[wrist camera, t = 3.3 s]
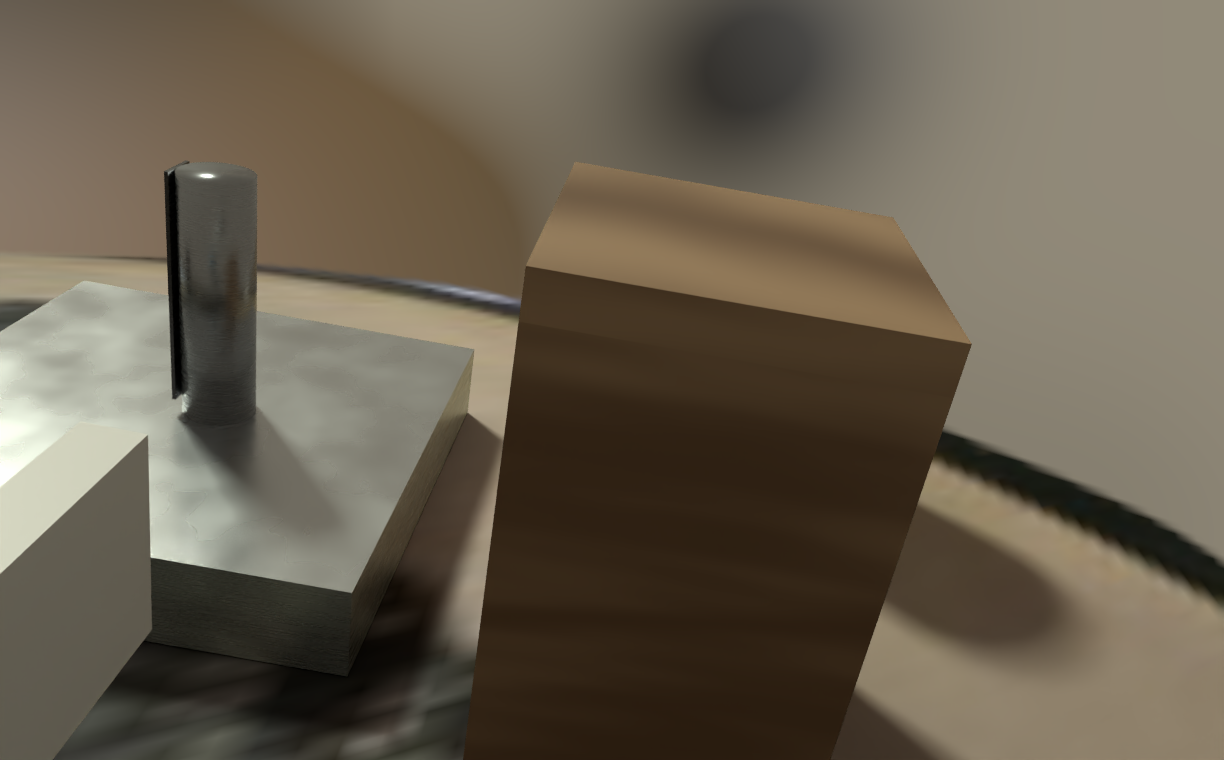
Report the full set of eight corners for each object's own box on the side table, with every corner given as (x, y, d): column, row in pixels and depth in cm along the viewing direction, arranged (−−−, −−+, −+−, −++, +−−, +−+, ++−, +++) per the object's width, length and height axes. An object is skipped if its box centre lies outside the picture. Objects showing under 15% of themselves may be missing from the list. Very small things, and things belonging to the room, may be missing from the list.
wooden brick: (798, 849, 22) (971, 343, 17) (459, 790, 22) (525, 265, 17) (775, 628, 28) (893, 217, 23) (515, 581, 28) (575, 162, 23)
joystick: (347, 676, 24) (367, 311, 20) (-230, 574, 24) (-327, 188, 20) (467, 411, 37) (495, 153, 33) (88, 344, 37) (68, 78, 33)
